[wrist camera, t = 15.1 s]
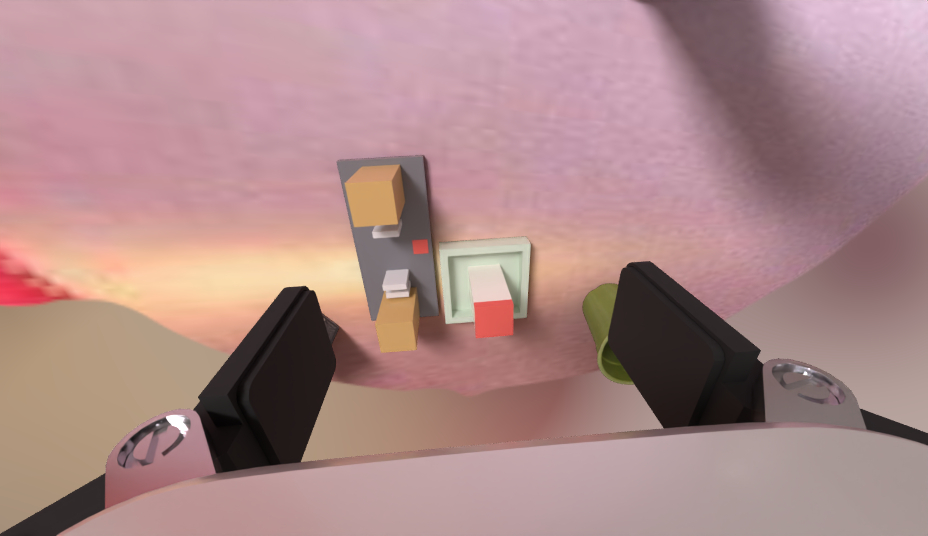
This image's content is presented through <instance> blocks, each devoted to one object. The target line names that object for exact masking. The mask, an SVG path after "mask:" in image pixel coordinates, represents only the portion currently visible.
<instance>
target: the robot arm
mask: <svg viewBox="0 0 928 536" xmlns="http://www.w3.org/2000/svg"><path fill="white" fill-rule="evenodd" d="M608 343H609V346H610V348H611V350H612V351H613V353H614V354H615V356H616V357H617V359H618V360H619V362H620V363H621V365H622V366H623V368H624V369H625V371H626V372H627V374H628V375H629V377H630V378H631V380H632V381H633V383H634V384H635V386H636V387H637V389H638V390H639V392H640V393H641V395H642V396H643V398H644V399H645V401H646V402H647V404H648V405H649V407H650V408H651V410H652V411H653V413H654V414H655V416H656V417H657V419H658V420H659V421H660V423H661V425H662V426H663V428H664V429H653V430H642V431H630V432H618V433H606V434H594V435H583V436H571V437H560V438H549V439H538V440H526V441H515V442H505V443H493V444H482V445H471V446H461V447H450V448H439V449H429V450H418V451H408V452H398V453H388V454H378V455H367V456H356V457H346V458H335V459H326V460H317V461H308V462H301V460H302V457H303V454H304V451H305V449H306V446H307V444H308V441H309V438H310V436H311V433H312V430H313V427H314V425H315V422H316V420H317V417H318V414H319V411H320V409H321V406H322V403H323V401H324V398H325V395H326V393H327V390H328V387H329V385H330V382H331V379H332V377H333V374H334V371H335V368H336V359H335V355H334V352H333V348H332V345H331V342H330V339H329V335H328V332H327V329H326V325H325V322H324V319H323V316H322V312H321V309H320V306H319V303H318V299H317V296H316V293H315V292H314V291H313V290H309V289H308V287H306V286H299V287H286V288H284V289H283V290H282V291H281V292H280V294H279V295H278V296H277V298H276V299H275V300H274V301H273V303H272V304H271V305H270V306H269V308H268V309H267V310H266V311H265V313H264V314H263V315H262V317H261V318H260V319H259V320H258V322H257V323H256V324H255V325H254V327H253V328H252V329H251V331H250V332H249V333H248V334H247V336H246V337H245V338H244V339H243V341H242V342H241V343H240V344H239V346H238V347H237V348H236V350H235V351H234V352H233V353H232V355H231V356H230V357H229V358H228V360H227V361H226V362H225V364H224V365H223V366H222V367H221V369H220V370H219V371H218V372H217V374H216V375H215V376H214V377H213V379H212V380H211V381H210V383H209V384H208V385H207V386H206V388H205V389H204V390H203V391H202V393H201V394H200V395H199V396H198V398H199V400H200V402H199V403H198V405H197V406H196V407H195V408H194V410H190V409H177V410H172V411H169V412H165V413H163V414H160V415H158V416H155V417H153V418H151V419H149V420H147V421H146V422H144V423H142V424H140V425H139V426H137V427H136V428H135V429H133V430H132V431H131V432H129V433H128V434H127V435H126V436H125V437H124V438H123V439H122V440H121V441H120V442H119V443H118V444H117V445H116V446H115V447H114V449H113V450H112V452H111V453H110V455H109V456H108V459H107V463H106V473H105V474H103V475H101V476H100V477H98V478H96V479H94V480H93V481H91V482H89V483H88V484H86V485H84V486H82V487H81V488H79V489H77V490H75V491H74V492H72V493H70V494H68V495H67V496H65V497H63V498H61V499H60V500H58V501H56V502H55V503H53V504H51V505H49V506H48V507H46V508H44V509H42V510H41V511H39V512H37V513H35V514H34V515H32V516H30V517H28V518H27V519H25V520H23V521H22V522H20V523H18V524H16V525H15V526H13V527H11V528H10V529H8V530H6V531H4V532H2V533H1V534H0V536H928V433H925V432H923V431H920V430H917V429H915V428H912V427H909V426H906V425H904V424H901V423H898V422H895V421H893V420H890V419H887V418H884V417H882V416H879V415H876V414H873V413H871V412H868V411H865V410H863V409H860V408H859V405H858V403H857V400H856V398H855V396H854V394H853V393H852V391H851V390H850V389H849V388H848V387H847V386H846V385H845V384H844V383H843V382H841V381H840V380H838V379H836V378H835V377H834V376H832V375H831V374H829V373H827V372H825V371H823V370H821V369H819V368H817V367H814V366H812V365H809V364H806V363H803V362H799V361H795V360H791V359H779V358H778V359H772V360H769V361H767V362H766V363H764V364H762V363H761V362H760V361H759V360H758V359H757V357H758V355H759V353H760V351H761V350H760V349H759V348H757V347H756V346H755V345H754V344H752V343H751V342H750V341H749V340H748V339H746V338H745V337H744V336H743V335H741V334H740V333H739V332H738V331H736V330H735V329H734V328H733V327H731V326H730V325H729V324H728V323H726V322H725V321H724V320H723V319H722V318H720V317H719V316H718V315H717V314H715V313H714V312H713V311H712V310H710V309H709V308H708V307H707V306H705V305H704V304H703V303H702V302H700V301H699V300H698V299H697V298H695V297H694V296H693V295H692V294H690V293H689V292H688V291H687V290H686V289H684V288H683V287H682V286H681V285H679V284H678V283H677V282H676V281H674V280H673V279H672V278H671V277H669V276H668V275H667V274H666V273H664V272H663V271H662V270H661V269H659V268H658V267H657V266H656V265H654V264H653V263H652V262H650V261H646V262H632V263H629V264H628V265H627V266H626V268H623V269H622V271H621V274H620V279H619V284H618V289H617V294H616V299H615V304H614V308H613V313H612V318H611V323H610V328H609V333H608Z"/></svg>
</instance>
